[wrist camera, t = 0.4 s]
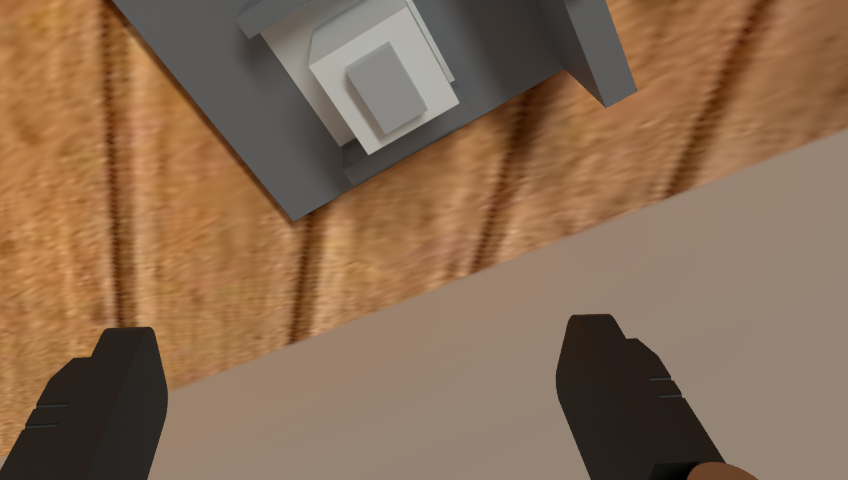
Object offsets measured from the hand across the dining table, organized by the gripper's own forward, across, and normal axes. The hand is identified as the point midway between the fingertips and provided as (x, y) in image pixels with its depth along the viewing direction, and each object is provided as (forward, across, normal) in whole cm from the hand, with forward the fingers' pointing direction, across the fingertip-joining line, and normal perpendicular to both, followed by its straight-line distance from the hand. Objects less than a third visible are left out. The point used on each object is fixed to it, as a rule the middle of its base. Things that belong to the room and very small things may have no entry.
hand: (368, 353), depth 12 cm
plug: (+21, -1, 0) cm, 21 cm away
